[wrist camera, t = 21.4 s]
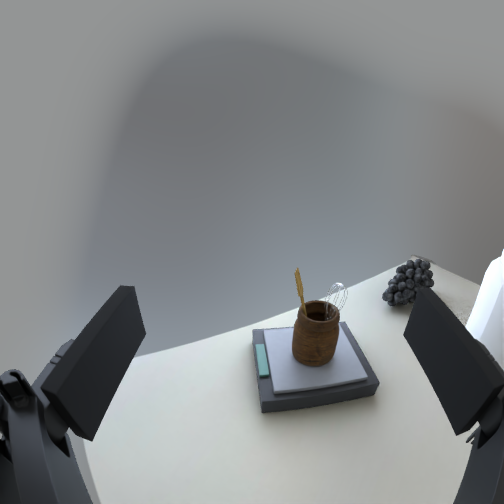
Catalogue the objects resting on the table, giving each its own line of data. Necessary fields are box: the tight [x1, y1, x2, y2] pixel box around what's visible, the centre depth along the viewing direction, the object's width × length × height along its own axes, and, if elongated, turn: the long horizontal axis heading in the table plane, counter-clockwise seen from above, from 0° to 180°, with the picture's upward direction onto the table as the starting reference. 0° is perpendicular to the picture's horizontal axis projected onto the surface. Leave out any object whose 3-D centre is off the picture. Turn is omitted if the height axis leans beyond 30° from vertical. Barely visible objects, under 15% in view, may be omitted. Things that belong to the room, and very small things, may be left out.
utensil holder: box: [292, 268, 348, 366], centre depth 32 cm, size 6×6×12 cm
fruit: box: [382, 259, 434, 306], centre depth 50 cm, size 9×8×15 cm
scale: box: [253, 322, 379, 413], centre depth 35 cm, size 15×14×3 cm
